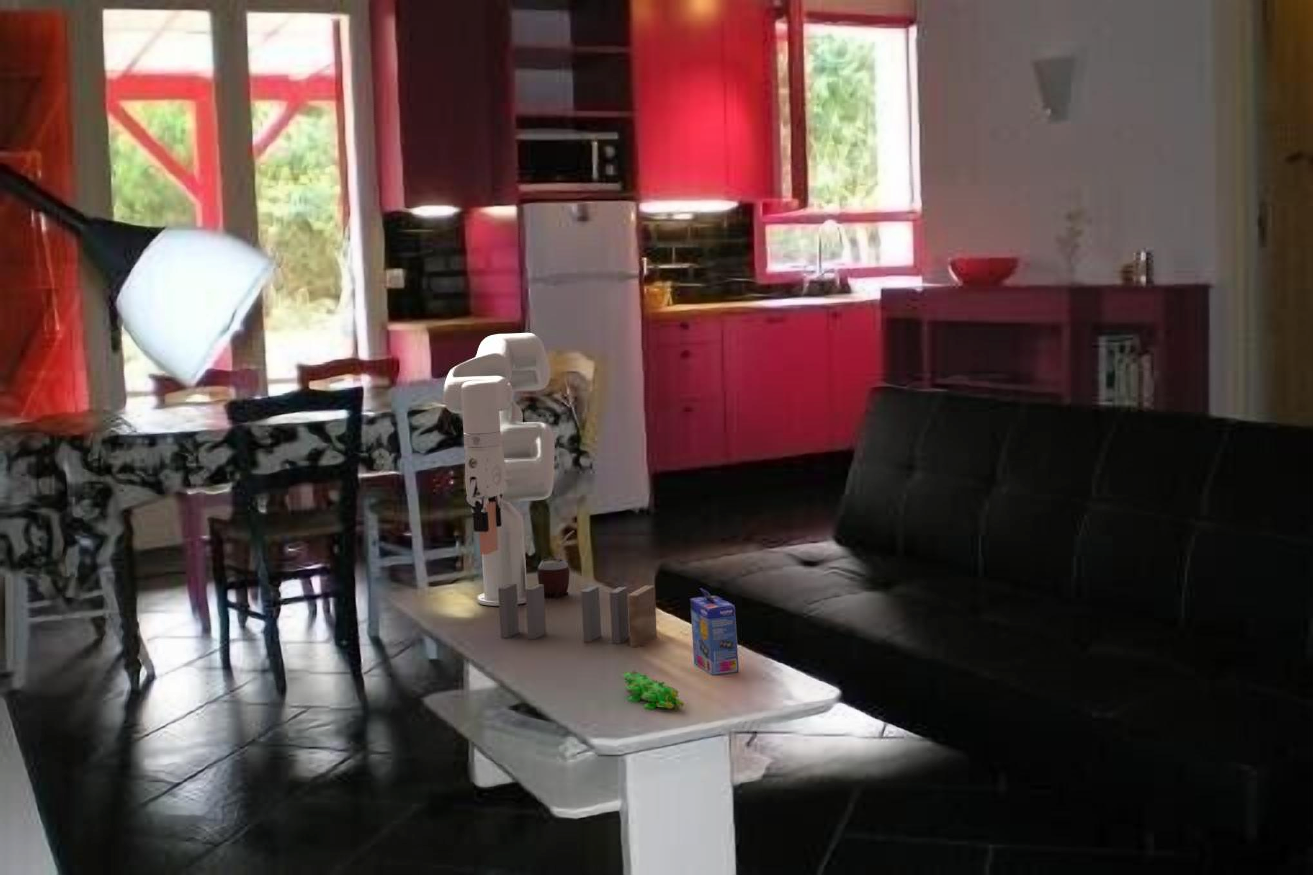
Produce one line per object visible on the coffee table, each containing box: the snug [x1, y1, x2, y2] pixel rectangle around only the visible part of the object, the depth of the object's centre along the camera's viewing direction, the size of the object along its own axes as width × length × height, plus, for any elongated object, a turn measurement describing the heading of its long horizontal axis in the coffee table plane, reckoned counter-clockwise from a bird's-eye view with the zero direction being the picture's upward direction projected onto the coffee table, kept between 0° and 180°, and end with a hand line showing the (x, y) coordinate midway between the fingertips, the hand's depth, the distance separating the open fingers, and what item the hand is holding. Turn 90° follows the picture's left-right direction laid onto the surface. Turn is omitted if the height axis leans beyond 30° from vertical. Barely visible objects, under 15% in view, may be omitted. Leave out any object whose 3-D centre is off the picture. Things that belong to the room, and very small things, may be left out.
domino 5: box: [609, 586, 630, 644], centre depth 307 cm, size 2×5×10 cm, turn 159°
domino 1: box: [478, 502, 498, 555], centre depth 323 cm, size 2×5×10 cm, turn 159°
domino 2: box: [498, 583, 520, 639], centre depth 316 cm, size 2×5×10 cm, turn 159°
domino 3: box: [525, 583, 547, 640], centre depth 314 cm, size 2×5×10 cm, turn 159°
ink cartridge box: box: [689, 588, 740, 676], centre depth 283 cm, size 10×6×14 cm, turn 19°
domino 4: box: [580, 585, 602, 643], centre depth 309 cm, size 2×5×10 cm, turn 159°
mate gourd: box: [536, 529, 575, 600], centre depth 351 cm, size 8×8×15 cm
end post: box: [627, 585, 658, 648], centre depth 305 cm, size 2×9×10 cm, turn 159°
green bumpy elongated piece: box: [621, 669, 684, 710], centre depth 264 cm, size 7×18×4 cm, turn 28°
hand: (487, 527), depth 323 cm, fingers closed on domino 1, 4 cm apart
